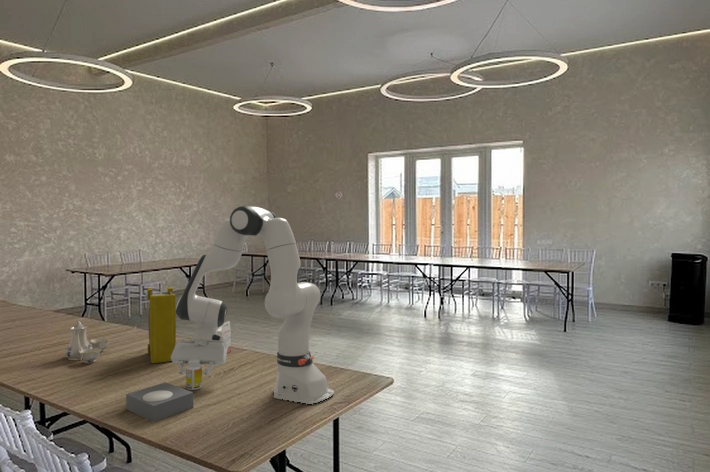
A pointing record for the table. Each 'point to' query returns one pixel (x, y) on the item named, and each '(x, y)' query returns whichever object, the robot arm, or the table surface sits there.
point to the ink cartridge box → (226, 334)
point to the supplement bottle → (194, 375)
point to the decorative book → (161, 325)
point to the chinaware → (84, 345)
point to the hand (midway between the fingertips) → (193, 374)
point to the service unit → (159, 401)
